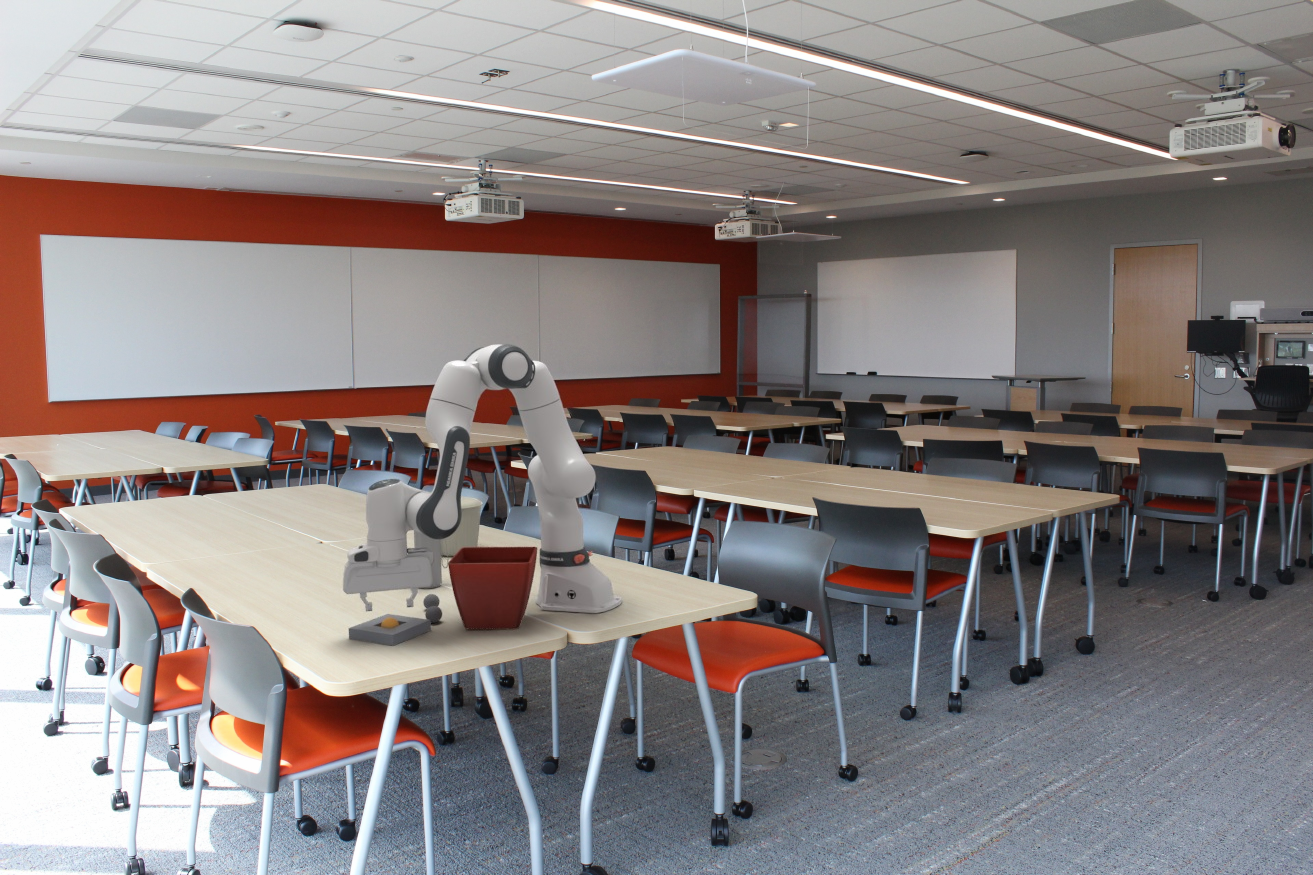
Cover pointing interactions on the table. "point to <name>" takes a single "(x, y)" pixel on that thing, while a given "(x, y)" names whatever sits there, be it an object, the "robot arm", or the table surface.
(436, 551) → the water bottle
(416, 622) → the grey square frame
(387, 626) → the orange ball
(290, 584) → the table surface
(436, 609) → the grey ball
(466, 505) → the canister
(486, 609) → the plant pot
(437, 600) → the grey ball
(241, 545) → the table surface
